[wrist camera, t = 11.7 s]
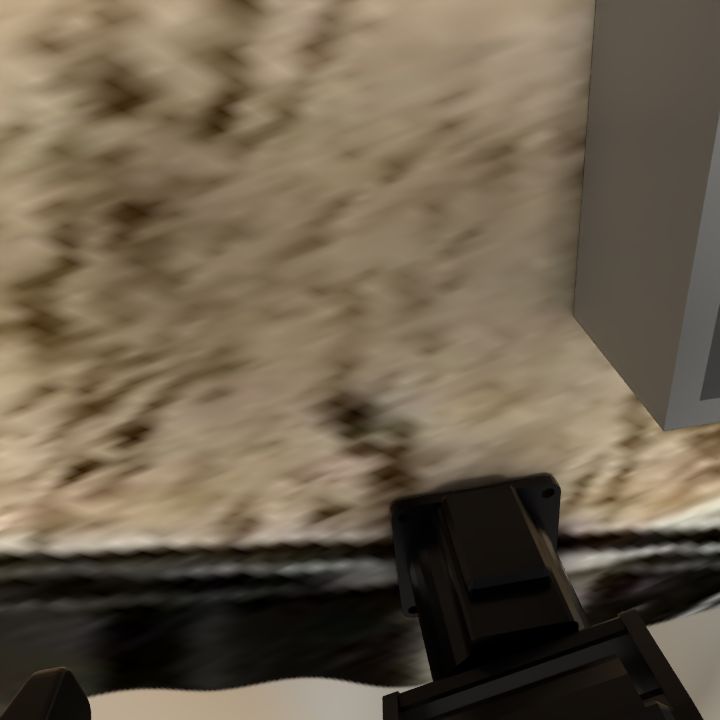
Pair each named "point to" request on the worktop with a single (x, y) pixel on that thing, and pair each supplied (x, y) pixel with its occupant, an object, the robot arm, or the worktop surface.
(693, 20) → the tub
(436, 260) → the worktop surface
